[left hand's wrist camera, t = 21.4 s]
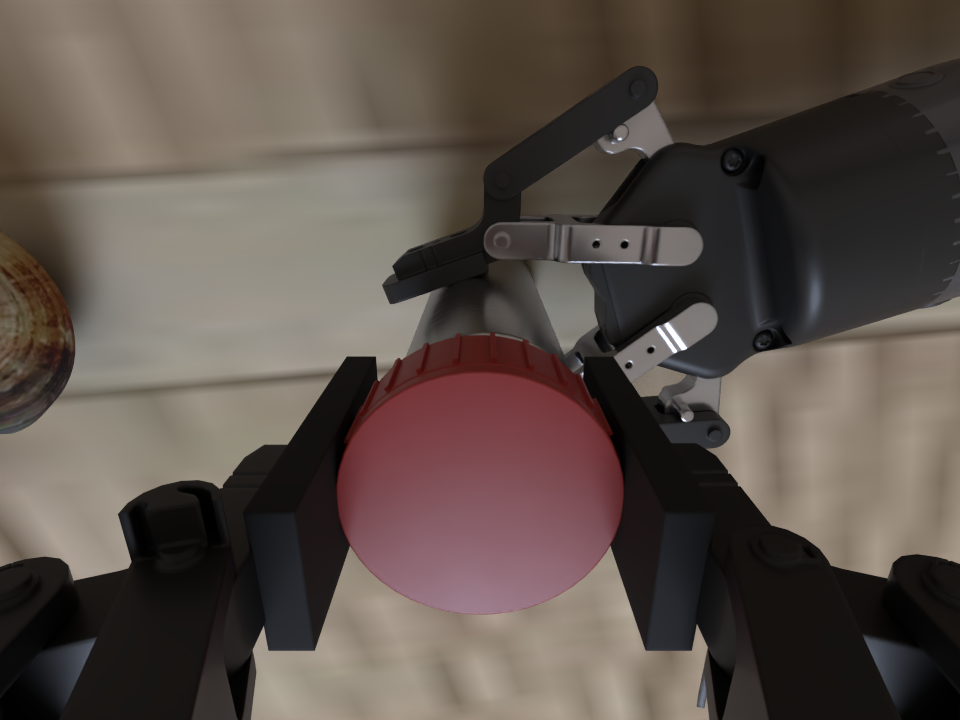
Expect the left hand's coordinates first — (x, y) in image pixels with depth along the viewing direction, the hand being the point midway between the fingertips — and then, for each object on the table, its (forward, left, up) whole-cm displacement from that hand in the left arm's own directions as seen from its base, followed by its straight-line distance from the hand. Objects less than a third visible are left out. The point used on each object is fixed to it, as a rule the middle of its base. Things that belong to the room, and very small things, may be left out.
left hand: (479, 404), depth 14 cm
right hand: (0, -2, -6) cm, 6 cm away
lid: (0, 0, +4) cm, 4 cm away
